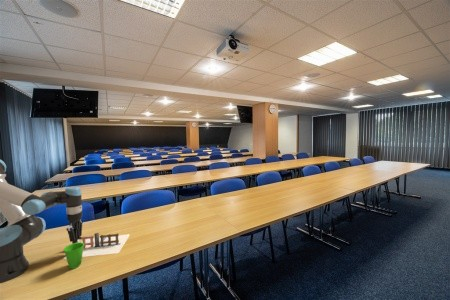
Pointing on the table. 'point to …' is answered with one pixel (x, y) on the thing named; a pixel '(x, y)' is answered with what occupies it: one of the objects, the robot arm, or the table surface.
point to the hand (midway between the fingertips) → (76, 250)
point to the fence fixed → (105, 241)
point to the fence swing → (85, 241)
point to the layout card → (104, 246)
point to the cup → (74, 254)
